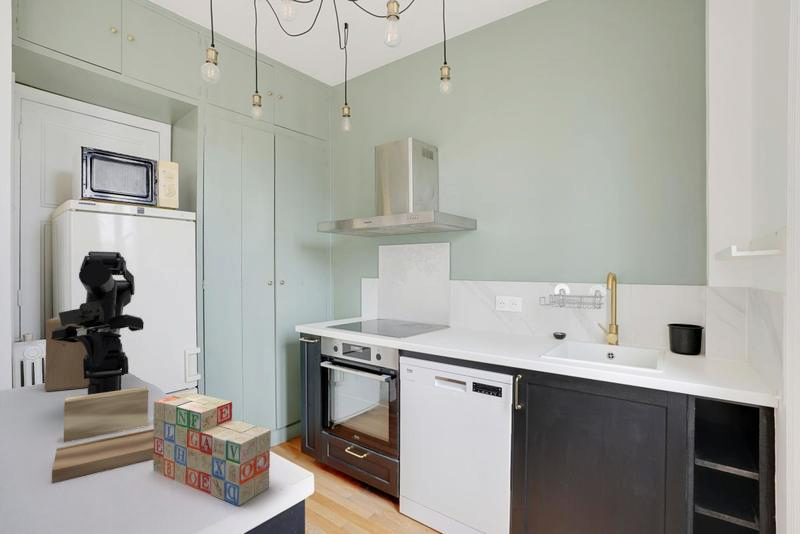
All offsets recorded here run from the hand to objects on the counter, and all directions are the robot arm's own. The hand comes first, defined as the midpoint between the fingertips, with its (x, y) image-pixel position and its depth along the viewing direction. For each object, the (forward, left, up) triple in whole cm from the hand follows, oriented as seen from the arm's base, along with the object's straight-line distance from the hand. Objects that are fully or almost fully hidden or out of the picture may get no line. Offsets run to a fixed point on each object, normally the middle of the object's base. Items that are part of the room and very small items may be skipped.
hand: (95, 366), depth 90 cm
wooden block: (-18, -30, -12) cm, 37 cm away
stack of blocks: (+16, +42, -12) cm, 47 cm away
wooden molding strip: (+14, +21, -12) cm, 28 cm away
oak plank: (+5, +9, -12) cm, 16 cm away
